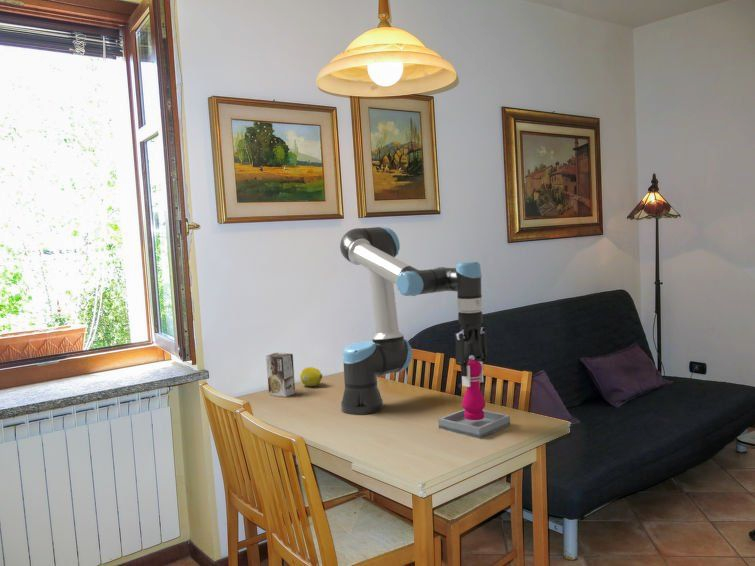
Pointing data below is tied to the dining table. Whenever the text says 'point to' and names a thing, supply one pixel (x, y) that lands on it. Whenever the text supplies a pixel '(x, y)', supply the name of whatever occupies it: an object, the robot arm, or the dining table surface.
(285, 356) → the coffee box
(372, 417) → the dining table surface
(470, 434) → the tray
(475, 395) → the pepper mill
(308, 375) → the lemon
